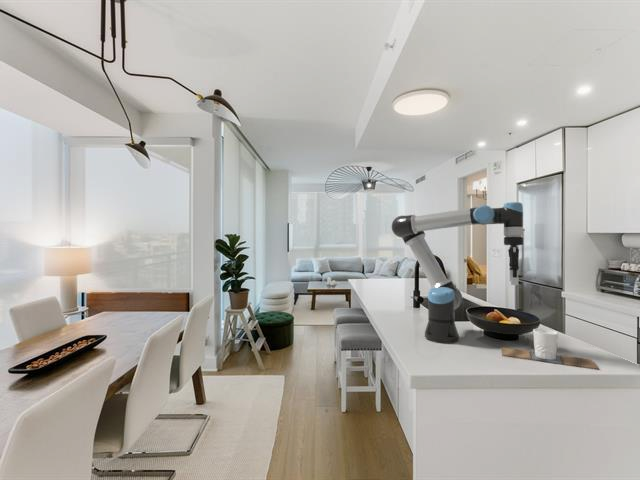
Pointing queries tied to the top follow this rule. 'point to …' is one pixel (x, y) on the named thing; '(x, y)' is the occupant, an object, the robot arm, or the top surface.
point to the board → (559, 360)
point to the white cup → (545, 343)
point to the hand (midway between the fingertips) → (513, 283)
